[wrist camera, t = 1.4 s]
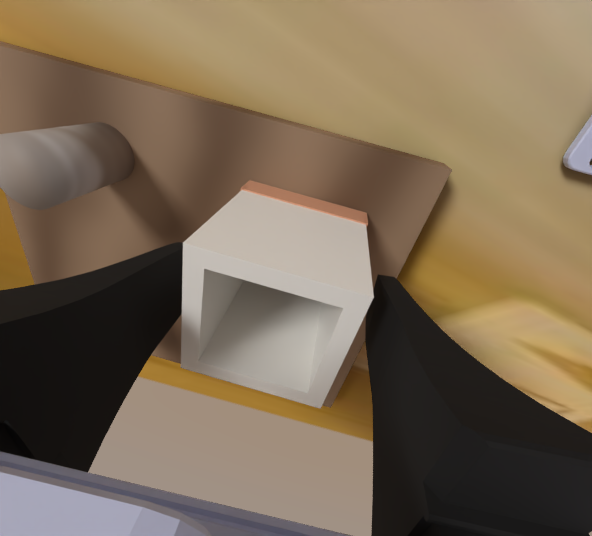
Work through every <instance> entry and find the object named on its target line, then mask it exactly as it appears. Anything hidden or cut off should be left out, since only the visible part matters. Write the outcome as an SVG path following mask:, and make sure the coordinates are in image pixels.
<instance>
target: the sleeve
mask: <svg viewBox="0 0 592 536" xmlns="http://www.w3.org/2000/svg"><path fill="white" fill-rule="evenodd" d="M367 225H368V219H367V213H366V212H362V211H358V210H355V209H351V208H348V207H344V206H341V205H337V204H333V203H330V202H326V201H323V200H319V199H316V198H312V197H308V196H305V195H301V194H298V193H294V192H291V191H287V190H283V189H280V188H276V187H273V186H269V185H266V184H262V183H258V182H255V181H251V180H249V181H248V182H247V183H246V184H245V185H244V186H242V187H241V189H240V192H239V193H238V194H237V195H236V196H235V197H233V198H232V199H231V200H230V201H229V202H228V203H227V204H226V205H225V206H223V207H222V208H221V209H220V210H219V211H218V212H217V213H216V214H214V215H213V216H212V217H211V218H210V219H209V220H208V221H207V222H206V223H204V224H203V225H202V226H201V227H200V228H199V229H198V230H197V231H195V232H194V233H193V234H192V235H191V236H190V237H189V238H188V239H187V240H185V241H184V242H183V267H182V328H181V368H184V369H187V370H191V371H194V372H197V373H201V374H204V375H208V376H211V377H214V378H218V379H221V380H225V381H228V382H231V383H235V384H238V385H242V386H245V387H248V388H252V389H255V390H259V391H262V392H265V393H269V394H272V395H276V396H279V397H283V398H286V399H289V400H293V401H296V402H300V403H303V404H306V405H310V406H313V407H317V408H320V409H321V407H322V404H323V402H324V400H325V398H326V396H327V394H328V392H329V390H330V388H331V386H332V384H333V381H334V379H335V377H336V375H337V373H338V371H339V369H340V367H341V365H342V363H343V361H344V358H345V356H346V354H347V352H348V350H349V348H350V346H351V344H352V342H353V340H354V338H355V336H356V333H357V331H358V329H359V327H360V325H361V323H362V321H363V319H364V317H365V315H366V313H367V310H368V308H369V306H370V304H371V302H372V300H373V298H374V294H373V285H372V275H371V266H370V257H369V247H368V238H367V229H366V228H367Z"/></svg>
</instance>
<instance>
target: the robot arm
mask: <svg viewBox="0 0 592 536" xmlns="http://www.w3.org/2000/svg"><path fill="white" fill-rule="evenodd" d="M591 159H592V115H591V117H590V118H589V120H588V121H587V122H586V124H585V125H584V127H583V128H582V130H581V131H580V132H579V134H578V135H577V137H576V138H575V140H574V141H573V142H572V144H571V145H570V147H569V148H568V150H567V151H566V153H565V155H564V157H563V163H564V165H565V167H567V168H569V169H572V170H574V171H578V172H582V173H585V174H589V175H592V165H591V166H590V164H589V162H590V160H591ZM182 267H183V243H182V242H176V243H172V244H169V245H166V246H163V247H160V248H157V249H154V250H152V251H149V252H146V253H144V254H141V255H138V256H135V257H133V258H130V259H127V260H124V261H121V262H118V263H115V264H112V265H109V266H106V267H103V268H100V269H97V270H94V271H91V272H87V273H84V274H80V275H76V276H72V277H68V278H64V279H60V280H55V281H50V282H45V283H40V284H35V285H30V286H25V287H20V288H14V289H7V290H1V291H0V536H351V535H347V534H342V533H338V532H334V531H330V530H326V529H321V528H317V527H313V526H309V525H305V524H301V523H297V522H292V521H288V520H284V519H280V518H276V517H272V516H267V515H263V514H259V513H255V512H251V511H246V510H242V509H238V508H234V507H230V506H226V505H222V504H217V503H213V502H209V501H205V500H201V499H197V498H192V497H188V496H184V495H180V494H175V493H171V492H167V491H163V490H159V489H155V488H151V487H146V486H142V485H138V484H134V483H130V482H125V481H121V480H117V479H113V478H109V477H105V476H101V475H96V474H92V473H88V471H89V469H90V467H91V465H92V462H93V460H94V458H95V456H96V454H97V452H98V450H99V447H100V446H101V443H102V441H103V439H104V437H105V435H106V433H107V432H108V430H109V428H110V425H111V424H112V422H113V420H114V418H115V416H116V414H117V412H118V410H119V408H120V406H121V405H122V403H123V401H124V399H125V398H126V396H127V394H128V392H129V390H130V389H131V387H132V385H133V383H134V382H135V380H136V378H137V377H138V375H139V373H140V372H141V370H142V368H143V367H144V365H145V363H146V362H147V360H148V358H149V357H150V356H151V354H152V353H153V351H154V350H155V349H156V347H157V346H158V345H159V343H160V342H161V341H162V339H163V338H164V337H165V335H166V334H167V333H168V331H169V330H170V329H171V327H172V326H173V325H174V323H175V322H176V321H177V319H178V318H179V317H180V315H181V314H182ZM373 294H374V298H373V300H372V302H371V304H370V306H369V308H368V310H367V314H366V327H365V340H366V350H367V358H368V366H369V374H370V383H371V391H372V403H373V506H372V536H590V535H589V532H591V531H592V433H590V432H589V431H587V430H585V429H583V428H581V427H580V426H578V425H576V424H574V423H573V422H571V421H569V420H567V419H566V418H564V417H562V416H560V415H559V414H557V413H555V412H553V411H552V410H550V409H548V408H546V407H545V406H543V405H542V404H540V403H538V402H537V401H535V400H534V399H532V398H531V397H529V396H527V395H526V394H524V393H523V392H521V391H520V390H518V389H516V388H515V387H513V386H512V385H511V384H509V383H508V382H506V381H505V380H503V379H502V378H500V377H499V376H498V375H496V374H495V373H493V372H492V371H491V370H489V369H488V368H487V367H485V366H484V365H483V364H481V363H480V362H479V361H477V360H476V359H475V358H474V357H472V356H471V355H470V354H469V353H467V352H466V351H465V350H464V349H463V348H461V347H460V346H459V345H458V344H457V343H456V342H454V341H453V340H452V339H451V338H450V337H449V336H448V335H447V334H446V333H445V332H444V331H443V330H442V329H441V328H440V327H439V326H438V325H437V324H436V323H435V322H434V321H433V320H432V319H431V318H430V317H429V316H428V315H427V314H426V313H425V312H424V311H423V310H422V309H421V307H420V306H419V305H418V304H417V303H416V302H415V301H414V299H413V298H412V297H411V296H410V295H409V293H408V292H407V291H406V290H405V289H404V287H403V286H402V285H401V284H400V283H399V281H398V280H397V279H396V278H395V277H391V276H385V275H379V274H378V276H377V279H376V283H375V286H374V290H373Z"/></svg>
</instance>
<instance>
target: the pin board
mask: <svg viewBox="0 0 592 536" xmlns="http://www.w3.org/2000/svg"><path fill="white" fill-rule="evenodd" d="M451 171H452V169H450V168H449V167H448V166H446V165H445V164H444V163H441V162H437V161H433V160H430V159H426V158H422V157H419V156H415V155H411V154H408V153H404V152H401V151H397V150H393V149H390V148H386V147H382V146H379V145H375V144H371V143H368V142H364V141H361V140H357V139H353V138H350V137H346V136H342V135H339V134H335V133H331V132H328V131H324V130H321V129H317V128H313V127H310V126H306V125H302V124H299V123H295V122H291V121H288V120H284V119H281V118H277V117H273V116H270V115H266V114H262V113H259V112H255V111H252V110H248V109H244V108H241V107H237V106H233V105H230V104H226V103H222V102H219V101H215V100H212V99H208V98H204V97H201V96H197V95H193V94H190V93H186V92H182V91H179V90H175V89H172V88H168V87H164V86H161V85H157V84H153V83H150V82H146V81H142V80H139V79H135V78H132V77H128V76H124V75H121V74H117V73H113V72H110V71H106V70H103V69H99V68H95V67H92V66H88V65H84V64H81V63H77V62H73V61H70V60H66V59H63V58H59V57H55V56H52V55H48V54H44V53H41V52H37V51H33V50H30V49H26V48H23V47H19V46H15V45H12V44H8V43H4V42H1V41H0V188H1V189H2V190H3V191H4V192H5V194H6V197H7V200H8V203H9V206H10V210H11V213H12V216H13V219H14V222H15V225H16V228H17V231H18V234H19V237H20V240H21V243H22V246H23V249H24V252H25V255H26V258H27V261H28V264H29V268H30V271H31V274H32V277H33V280H34V283H35V284H40V283H45V282H50V281H55V280H60V279H64V278H68V277H72V276H76V275H80V274H84V273H87V272H91V271H94V270H97V269H100V268H103V267H106V266H109V265H112V264H115V263H118V262H121V261H124V260H127V259H130V258H133V257H135V256H138V255H141V254H144V253H146V252H149V251H152V250H154V249H157V248H160V247H163V246H166V245H169V244H172V243H176V242H182V243H183V242H184V241H185V240H187V239H188V238H189V237H190V236H191V235H192V234H193V233H194V232H195V231H197V230H198V229H199V228H200V227H201V226H202V225H203V224H204V223H206V222H207V221H208V220H209V219H210V218H211V217H212V216H213V215H214V214H216V213H217V212H218V211H219V210H220V209H221V208H222V207H223V206H225V205H226V204H227V203H228V202H229V201H230V200H231V199H232V198H233V197H235V196H236V195H237V194H238V193H239V192H240V189H241V187H242V186H244V185H245V184H246V183H247V182H248V181H249V180H251V181H255V182H258V183H262V184H266V185H269V186H273V187H276V188H280V189H283V190H287V191H291V192H294V193H298V194H301V195H305V196H308V197H312V198H316V199H319V200H323V201H326V202H330V203H333V204H337V205H341V206H344V207H348V208H351V209H355V210H358V211H362V212H366V213H367V219H368V225H367V228H366V229H367V238H368V247H369V257H370V266H371V275H372V285H373V290H374V286H375V283H376V279H377V276H378V274H379V275H385V276H391V277H395V278H396V279H397V277H398V275H399V273H400V271H401V269H402V267H403V265H404V263H405V261H406V259H407V257H408V255H409V253H410V252H411V250H412V248H413V246H414V244H415V242H416V240H417V238H418V236H419V234H420V232H421V230H422V228H423V226H424V224H425V222H426V220H427V218H428V216H429V214H430V212H431V210H432V208H433V206H434V205H435V203H436V201H437V199H438V197H439V195H440V193H441V191H442V189H443V187H444V185H445V183H446V181H447V179H448V177H449V175H450V173H451ZM366 314H367V313H366ZM365 327H366V315H365V317H364V319H363V321H362V323H361V325H360V327H359V329H358V331H357V333H356V336H355V338H354V340H353V342H352V344H351V346H350V348H349V350H348V352H347V354H346V356H345V358H344V361H343V363H342V365H341V367H340V369H339V371H338V373H337V375H336V377H335V379H334V381H333V384H332V386H331V388H330V390H329V392H328V394H327V396H326V398H325V400H324V402H323V404H322V405H323V406H327V407H330V408H331V406H332V404H333V402H334V400H335V398H336V396H337V394H338V392H339V390H340V389H341V387H342V385H343V383H344V381H345V379H346V377H347V375H348V373H349V371H350V369H351V367H352V365H353V363H354V361H355V359H356V357H357V355H358V353H359V351H360V349H361V347H362V345H363V343H364V342H365ZM181 328H182V314H181V315H180V317H179V318H178V319H177V321H176V322H175V323H174V325H173V326H172V327H171V329H170V330H169V331H168V333H167V334H166V335H165V337H164V338H163V339H162V341H161V342H160V343H159V345H158V346H157V347H156V349H155V350H154V351H153V353H152V354H151V355H153V356H156V357H160V358H163V359H167V360H170V361H173V362H177V363H180V364H181Z"/></svg>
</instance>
